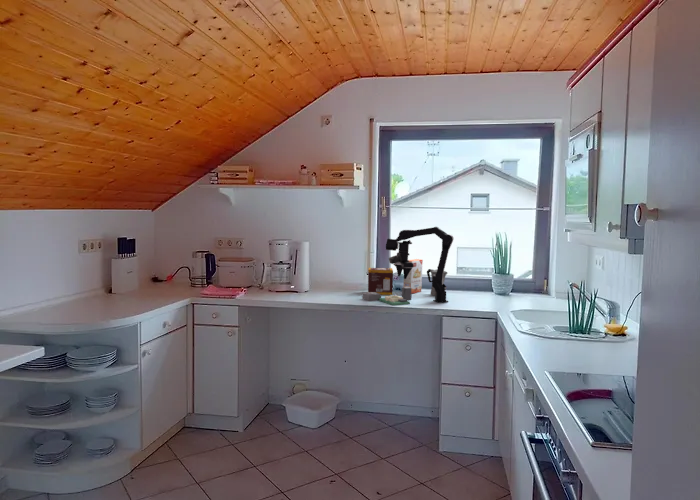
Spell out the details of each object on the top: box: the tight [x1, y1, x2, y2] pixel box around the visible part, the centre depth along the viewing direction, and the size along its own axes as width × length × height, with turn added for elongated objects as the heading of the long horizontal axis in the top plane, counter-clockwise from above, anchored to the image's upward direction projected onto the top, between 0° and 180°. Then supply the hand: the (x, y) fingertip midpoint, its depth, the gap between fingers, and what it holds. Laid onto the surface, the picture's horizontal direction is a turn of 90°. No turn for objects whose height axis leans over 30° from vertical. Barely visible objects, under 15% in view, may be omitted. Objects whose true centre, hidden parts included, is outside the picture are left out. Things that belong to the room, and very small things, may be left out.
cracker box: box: [402, 258, 424, 295], centre depth 320 cm, size 14×6×21 cm, turn 143°
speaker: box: [361, 291, 382, 302], centre depth 295 cm, size 8×8×4 cm
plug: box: [401, 286, 412, 301], centre depth 296 cm, size 4×5×7 cm
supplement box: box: [367, 267, 394, 296], centre depth 316 cm, size 10×15×16 cm
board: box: [378, 293, 411, 306], centre depth 288 cm, size 16×11×3 cm
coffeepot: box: [426, 266, 448, 297], centre depth 313 cm, size 15×9×18 cm, turn 44°
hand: (401, 277), depth 297 cm, fingers open, 9 cm apart
